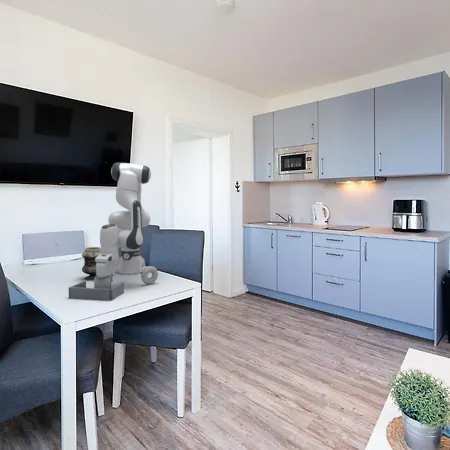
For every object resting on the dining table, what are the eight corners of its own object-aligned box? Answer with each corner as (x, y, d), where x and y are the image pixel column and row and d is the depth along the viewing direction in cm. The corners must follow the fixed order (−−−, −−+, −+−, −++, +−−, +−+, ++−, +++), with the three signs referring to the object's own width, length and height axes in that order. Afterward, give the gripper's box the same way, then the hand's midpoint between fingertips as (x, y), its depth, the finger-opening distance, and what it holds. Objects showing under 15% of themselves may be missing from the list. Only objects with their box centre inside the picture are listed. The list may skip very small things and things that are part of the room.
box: (84, 290, 164) (84, 280, 164) (123, 292, 161) (123, 282, 161) (68, 298, 151) (68, 287, 151) (111, 300, 148) (111, 289, 148)
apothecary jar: (96, 281, 183) (95, 249, 182) (77, 280, 185) (76, 248, 184) (108, 276, 195) (107, 246, 193) (90, 275, 197) (89, 246, 196)
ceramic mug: (111, 292, 161) (111, 277, 160) (94, 294, 157) (93, 278, 157) (110, 287, 170) (110, 273, 170) (93, 289, 167) (93, 274, 167)
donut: (142, 286, 173) (142, 267, 173) (139, 285, 176) (139, 266, 175) (159, 283, 180) (159, 265, 179) (156, 282, 183) (156, 264, 182)
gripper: (113, 252, 178) (113, 277, 179) (93, 259, 158) (93, 287, 159) (124, 253, 177) (124, 278, 178) (105, 259, 157) (106, 287, 158)
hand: (109, 282), depth 168 cm, fingers closed
